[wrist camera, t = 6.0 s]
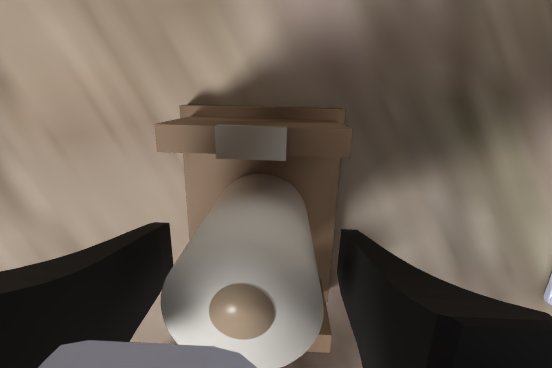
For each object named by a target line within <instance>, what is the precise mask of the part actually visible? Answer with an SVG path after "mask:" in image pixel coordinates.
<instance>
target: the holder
mask: <svg viewBox="0 0 552 368" xmlns="http://www.w3.org/2000/svg"><path fill="white" fill-rule="evenodd" d="M345 111H346V110H345V109H330V108H291V107H252V106H213V105H180V119H176V120H171V121H167V122H162V123H157V124H154V126H155V135H156V145H157V152H173V153H183V159H184V173H185V186H186V199H187V213H188V226H189V240H191V239H192V237H193V236H194V234H195V232H196V231H197V229H198V228H199V226H200V225H201V223H202V222H203V220H204V219H205V217H206V216H207V214H208V213H209V211H210V210H211V208H212V207H213V205H214V204H215V202H216V201H217V199H218V198H219V196H220V195H221V193H222V192H223V191H224V189H225V188H226V187H227V186H228V185H229V184H231V183H232V182H233V181H235V180H237V179H239V178H241V177H243V176H246V175H250V174H269V175H273V176H277V177H279V178H282V179H283V180H285V181H287V182H288V183H290V184H291V185H292V186H293V187H294V188H295V189H296V190H297V191H298V192H299V194H300V195H301V197H302V198H303V200H304V203H305V205H306V209H307V214H308V220H309V225H310V231H311V237H312V242H313V248H314V253H315V259H316V264H317V270H318V275H319V281H320V286H321V292H322V297H323V305H324V316H323V322H322V326H321V329H320V332H319V334H318V336H317V338H316V340H315V341H314V343H313V344H312V345H311V347H310V348H309V349H308V350H307V351H306V352H322V353H330V347H331V338H332V334H331V329H330V324H329V318H328V313H327V308H326V303H325V301H326V302H328V294H329V283H330V272H331V262H332V251H333V240H334V229H335V219H336V208H337V197H338V186H339V176H340V165H341V158H350V152H351V142H352V133H353V129H351V128H349V127H347V126H345V125H344V122H345Z"/></svg>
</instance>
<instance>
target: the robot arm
mask: <svg viewBox="0 0 552 368" xmlns="http://www.w3.org/2000/svg"><path fill="white" fill-rule="evenodd" d="M172 267H173V257H172V246H171V236H170V226H169V223H158V222H155V223H151V224H147V225H145V226H142V227H139V228H137V229H134V230H132V231H130V232H127V233H125V234H122V235H120V236H118V237H115V238H113V239H110V240H108V241H105V242H102V243H100V244H97V245H95V246H92V247H89V248H87V249H84V250H81V251H78V252H75V253H72V254H69V255H66V256H62V257H59V258H56V259H52V260H49V261H45V262H41V263H37V264H32V265H28V266H24V267H20V268H16V269H11V270H6V271H1V272H0V368H257V367H256V366H255V365H254V364H252V363H251V362H250V361H249V360H247V359H246V358H245V357H244V356H243V355H241V354H240V353H238V352H234V351H230V350H226V349H222V348H218V347H215V346H199V345H178V344H158V343H137V342H130V340H131V338H132V336H133V335H134V333H135V331H136V330H137V328H138V327H139V325H140V324H141V322H142V320H143V319H144V317H145V316H146V314H147V313H148V311H149V309H150V308H151V306H152V305H153V303H154V302H155V300H156V298H157V297H158V295H159V294H160V292H161V290H162V288H163V285H164V282H165V279H166V277H167V275H168V274H169V272H170V270H171V269H172ZM337 275H338V281H339V286H340V292H341V296H342V299H343V302H344V305H345V308H346V311H347V314H348V317H349V321H350V324H351V327H352V330H353V333H354V336H355V339H356V342H357V345H358V349H359V353H360V357H361V361H362V366H363V368H552V316H551V315H549V314H548V313H545V312H541V311H537V310H533V309H529V308H525V307H522V306H518V305H514V304H510V303H506V302H502V301H499V300H496V299H493V298H489V297H486V296H483V295H480V294H477V293H474V292H471V291H468V290H466V289H463V288H460V287H458V286H455V285H453V284H450V283H448V282H445V281H443V280H441V279H438V278H436V277H434V276H432V275H430V274H428V273H426V272H424V271H422V270H420V269H418V268H416V267H414V266H412V265H410V264H408V263H407V262H405V261H403V260H402V259H400V258H398V257H397V256H395V255H393V254H392V253H390V252H389V251H387V250H386V249H384V248H383V247H381V246H380V245H378V244H377V243H376V242H374V241H373V240H371V239H370V238H368V237H367V236H366V235H364V234H363V233H361V232H359V231H358V230H347V229H341V238H340V248H339V258H338V268H337ZM544 300H545V301H546V302H548V303H549V304H550V305H552V274H551V277H550V280H549V283H548V285H547V288H546V291H545V294H544Z"/></svg>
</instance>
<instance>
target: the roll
mask: <svg viewBox="0 0 552 368" xmlns="http://www.w3.org/2000/svg"><path fill="white" fill-rule="evenodd" d="M161 310H162V315H163V319H164V322H165V324H166V327H167V329H168V331H169V332H170V334H171V336H172V337H173V339H174V340H175V341H176V342H177V344H178V345H199V346H215V347H218V348H222V349H226V350H230V351H234V352H238V353H240V354H241V355H243V356H244V357H245V358H246V359H247V360H249V361H250V362H251V363H252V364H254V365H255V366H256V367H257V368H281V367H284V366H286V365H288V364H290V363H292V362H293V361H295V360H296V359H298V358H299V357H301V356H302V355H303V354H304V353H305V352H306V351H307V350H308V349H309V348H310V347H311V345H312V344H313V343H314V341H315V340H316V338H317V336H318V334H319V332H320V329H321V326H322V322H323V316H324V305H323V297H322V292H321V286H320V281H319V275H318V270H317V264H316V259H315V253H314V248H313V242H312V237H311V231H310V225H309V220H308V214H307V209H306V205H305V203H304V200H303V198H302V197H301V195H300V194H299V192H298V191H297V190H296V189H295V188H294V187H293V186H292V185H291V184H290V183H288V182H287V181H285V180H283V179H282V178H279V177H277V176H273V175H269V174H250V175H246V176H243V177H241V178H239V179H237V180H235V181H233V182H232V183H231V184H229V185H228V186H227V187H226V188H225V189H224V191H223V192H222V193H221V195H220V196H219V198H218V199H217V201H216V202H215V204H214V205H213V207H212V208H211V210H210V211H209V213H208V214H207V216H206V217H205V219H204V220H203V222H202V223H201V225H200V226H199V228H198V229H197V231H196V232H195V234H194V236H193V237H192V239H191V240H190V242H189V243H188V245H187V246H186V248H185V249H184V251H183V252H182V254H181V255H180V257H179V258H178V260H177V261H176V263H175V264H174V266H173V267H172V269H171V270H170V272H169V274H168V275H167V277H166V279H165V282H164V285H163V288H162V293H161Z"/></svg>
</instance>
